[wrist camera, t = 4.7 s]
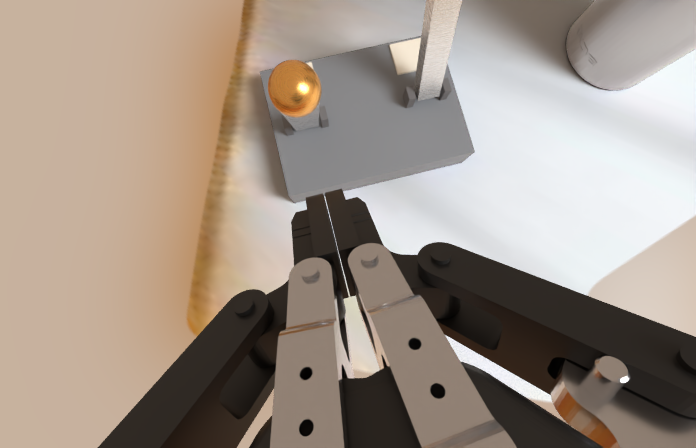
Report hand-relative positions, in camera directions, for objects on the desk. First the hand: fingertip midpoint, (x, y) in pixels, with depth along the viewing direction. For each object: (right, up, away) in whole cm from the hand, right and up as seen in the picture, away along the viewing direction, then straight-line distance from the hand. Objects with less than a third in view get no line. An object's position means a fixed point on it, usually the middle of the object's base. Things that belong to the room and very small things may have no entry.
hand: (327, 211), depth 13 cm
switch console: (+2, +9, +18) cm, 20 cm away
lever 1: (-3, +8, +14) cm, 17 cm away
